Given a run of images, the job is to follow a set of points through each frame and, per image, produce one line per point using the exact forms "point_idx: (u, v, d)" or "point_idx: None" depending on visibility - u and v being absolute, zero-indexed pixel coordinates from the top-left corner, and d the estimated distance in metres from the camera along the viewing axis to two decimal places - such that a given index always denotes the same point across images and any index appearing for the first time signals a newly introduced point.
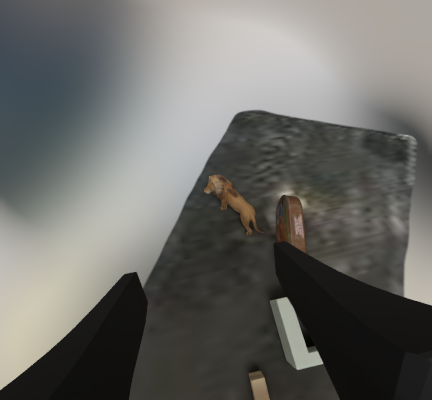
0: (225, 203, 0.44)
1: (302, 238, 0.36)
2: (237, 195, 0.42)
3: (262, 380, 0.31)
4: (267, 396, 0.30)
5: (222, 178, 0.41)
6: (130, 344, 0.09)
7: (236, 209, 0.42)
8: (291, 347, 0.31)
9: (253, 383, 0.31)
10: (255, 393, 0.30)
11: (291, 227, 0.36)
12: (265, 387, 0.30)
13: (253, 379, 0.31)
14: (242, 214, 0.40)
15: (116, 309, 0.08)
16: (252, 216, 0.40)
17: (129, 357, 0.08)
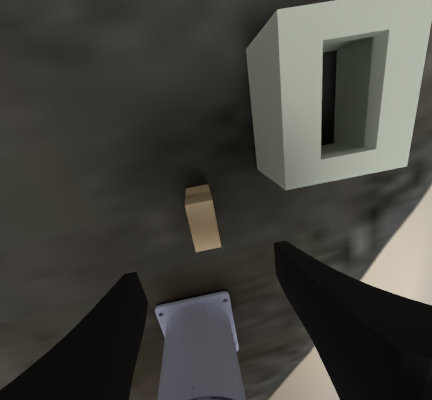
0: None
1: None
2: None
3: (209, 203, 0.15)
4: (214, 226, 0.16)
5: None
6: (130, 344, 0.09)
7: None
8: (285, 147, 0.12)
9: (189, 209, 0.15)
10: (192, 223, 0.16)
11: None
12: (212, 214, 0.15)
13: (190, 202, 0.15)
14: None
15: (116, 309, 0.08)
16: None
17: (129, 357, 0.08)
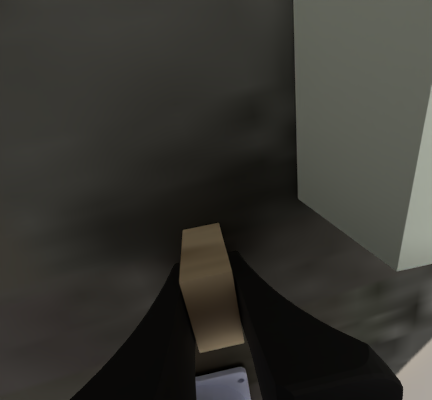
0: None
1: None
2: None
3: (225, 277, 0.08)
4: (234, 312, 0.09)
5: None
6: (191, 330, 0.09)
7: None
8: (417, 184, 0.05)
9: (188, 288, 0.08)
10: (193, 310, 0.08)
11: None
12: (231, 294, 0.08)
13: (190, 273, 0.08)
14: None
15: (181, 295, 0.08)
16: None
17: (191, 343, 0.09)
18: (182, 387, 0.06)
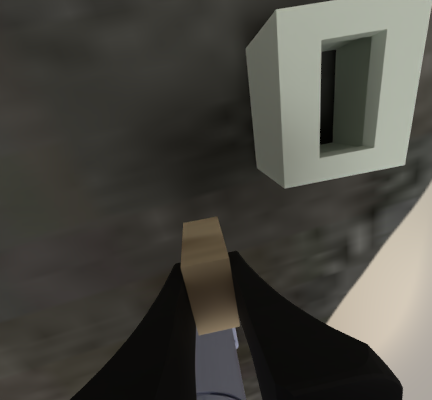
0: None
1: None
2: None
3: (223, 264, 0.09)
4: (231, 297, 0.09)
5: None
6: (191, 330, 0.09)
7: None
8: (284, 146, 0.12)
9: (188, 273, 0.09)
10: (193, 294, 0.09)
11: None
12: (228, 279, 0.09)
13: (190, 260, 0.09)
14: None
15: (181, 295, 0.08)
16: None
17: (191, 343, 0.09)
18: (182, 387, 0.06)
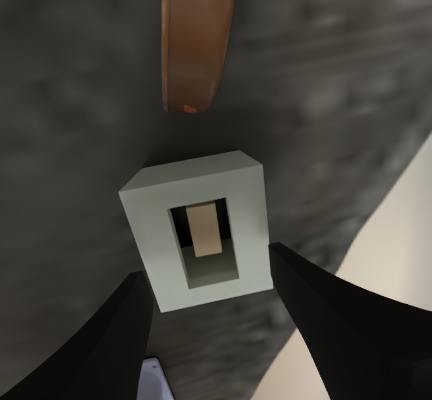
0: None
1: None
2: None
3: (211, 207, 0.15)
4: (216, 230, 0.15)
5: None
6: (137, 342, 0.09)
7: None
8: (153, 283, 0.14)
9: (190, 212, 0.15)
10: (193, 227, 0.15)
11: None
12: (214, 218, 0.15)
13: (191, 205, 0.15)
14: None
15: (124, 307, 0.08)
16: None
17: (137, 355, 0.09)
18: None
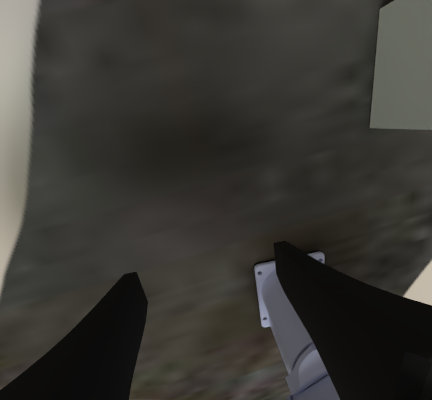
0: None
1: None
2: None
3: None
4: None
5: None
6: (130, 344, 0.09)
7: None
8: None
9: None
10: None
11: None
12: None
13: None
14: None
15: (116, 309, 0.08)
16: None
17: (129, 357, 0.08)
18: None
